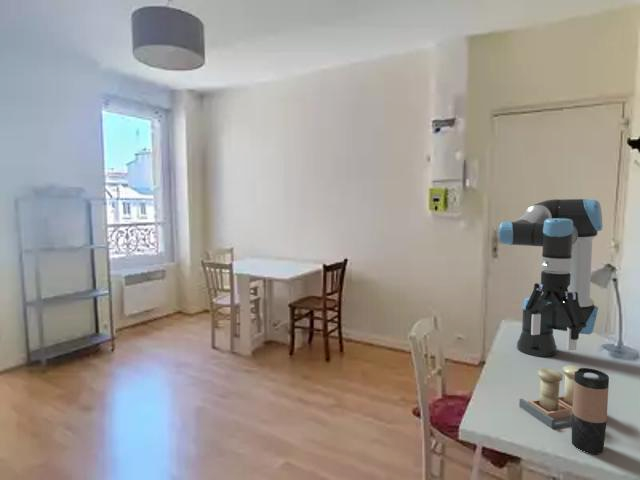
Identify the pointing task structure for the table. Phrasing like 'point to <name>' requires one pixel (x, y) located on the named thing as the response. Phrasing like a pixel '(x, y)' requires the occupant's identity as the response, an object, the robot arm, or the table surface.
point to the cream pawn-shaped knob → (549, 389)
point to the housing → (564, 404)
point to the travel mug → (589, 410)
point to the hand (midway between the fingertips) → (552, 341)
